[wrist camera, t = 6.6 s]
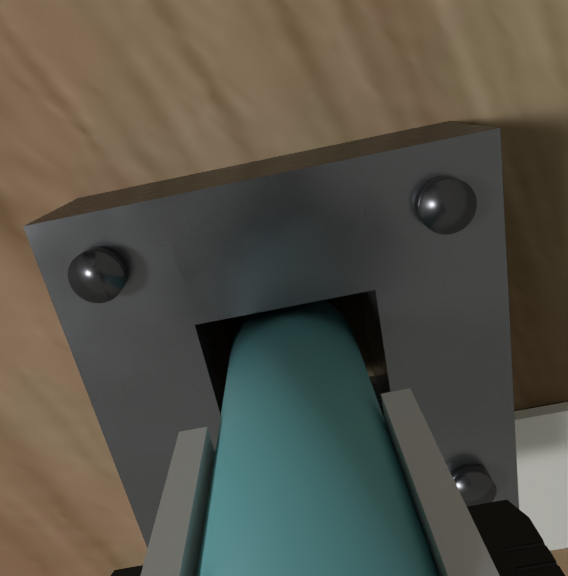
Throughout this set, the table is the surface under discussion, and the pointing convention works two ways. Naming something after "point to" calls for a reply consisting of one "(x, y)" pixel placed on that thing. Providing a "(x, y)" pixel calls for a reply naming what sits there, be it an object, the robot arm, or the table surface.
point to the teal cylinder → (306, 459)
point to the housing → (295, 291)
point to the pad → (544, 470)
